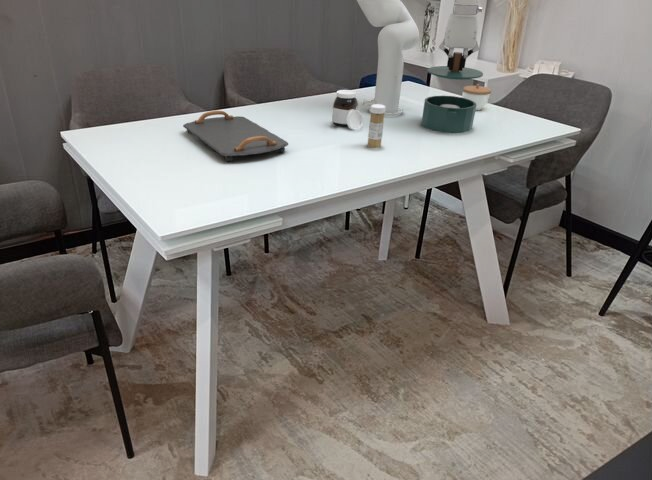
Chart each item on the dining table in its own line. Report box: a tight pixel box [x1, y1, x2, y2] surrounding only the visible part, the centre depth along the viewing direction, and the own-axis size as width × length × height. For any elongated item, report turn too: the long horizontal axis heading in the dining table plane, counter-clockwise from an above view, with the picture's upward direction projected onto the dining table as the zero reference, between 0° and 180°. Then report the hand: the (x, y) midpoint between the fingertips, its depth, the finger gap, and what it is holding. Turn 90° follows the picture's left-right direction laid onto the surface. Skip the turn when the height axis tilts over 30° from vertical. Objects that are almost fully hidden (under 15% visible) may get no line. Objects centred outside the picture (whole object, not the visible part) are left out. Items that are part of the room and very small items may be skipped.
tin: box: [420, 95, 477, 134], centre depth 196 cm, size 18×23×9 cm
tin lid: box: [426, 51, 484, 81], centre depth 186 cm, size 19×19×7 cm
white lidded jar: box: [461, 83, 492, 111], centre depth 219 cm, size 11×11×9 cm
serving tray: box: [182, 110, 289, 163], centre depth 176 cm, size 39×23×6 cm, turn 31°
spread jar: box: [331, 89, 364, 131], centre depth 193 cm, size 12×11×12 cm
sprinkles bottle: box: [366, 104, 385, 149], centre depth 173 cm, size 5×5×13 cm
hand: (455, 69), depth 187 cm, fingers closed on tin lid, 3 cm apart
